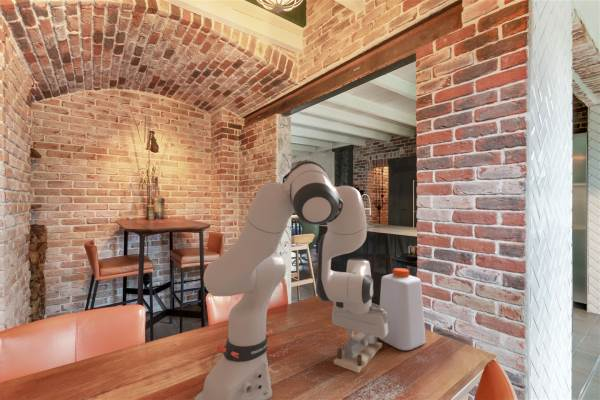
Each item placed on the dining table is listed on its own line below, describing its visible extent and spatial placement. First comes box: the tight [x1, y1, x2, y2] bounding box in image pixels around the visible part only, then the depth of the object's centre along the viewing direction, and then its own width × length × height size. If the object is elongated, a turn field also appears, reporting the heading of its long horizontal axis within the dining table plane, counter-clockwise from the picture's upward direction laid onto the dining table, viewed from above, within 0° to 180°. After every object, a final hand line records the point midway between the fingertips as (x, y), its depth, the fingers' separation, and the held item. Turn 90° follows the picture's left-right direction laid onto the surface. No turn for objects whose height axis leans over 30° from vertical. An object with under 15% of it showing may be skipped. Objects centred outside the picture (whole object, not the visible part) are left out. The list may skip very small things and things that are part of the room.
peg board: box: [333, 341, 383, 374], centre depth 103 cm, size 21×9×4 cm, turn 144°
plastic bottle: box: [378, 267, 426, 351], centre depth 114 cm, size 15×15×28 cm
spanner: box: [343, 332, 378, 359], centre depth 103 cm, size 20×6×4 cm, turn 143°
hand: (359, 343), depth 102 cm, fingers closed on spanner, 3 cm apart
